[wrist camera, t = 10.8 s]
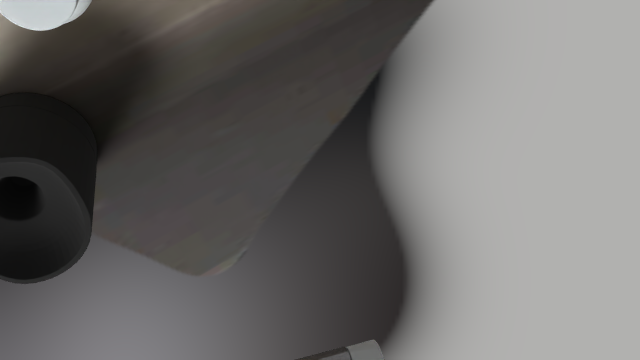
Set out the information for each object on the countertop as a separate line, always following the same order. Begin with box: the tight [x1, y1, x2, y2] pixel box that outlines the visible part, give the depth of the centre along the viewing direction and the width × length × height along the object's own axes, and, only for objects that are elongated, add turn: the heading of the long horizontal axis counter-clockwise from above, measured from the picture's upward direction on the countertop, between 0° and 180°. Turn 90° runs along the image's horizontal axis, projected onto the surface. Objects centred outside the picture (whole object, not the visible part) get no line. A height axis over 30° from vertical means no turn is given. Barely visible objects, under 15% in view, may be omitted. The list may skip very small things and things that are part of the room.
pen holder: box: [0, 93, 97, 284], centre depth 38 cm, size 9×9×10 cm
